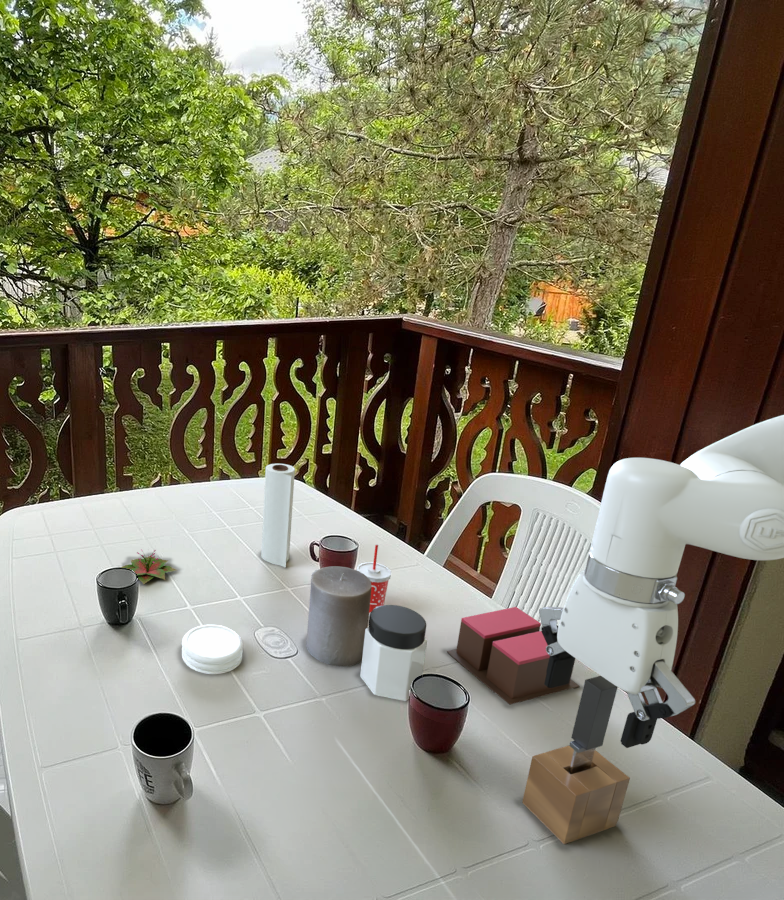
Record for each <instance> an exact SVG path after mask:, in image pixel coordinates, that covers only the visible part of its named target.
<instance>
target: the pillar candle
mask: <svg viewBox="0 0 784 900" xmlns="http://www.w3.org/2000/svg"><path fill="white" fill-rule="evenodd" d="M371 588H372V586H371V581H370V579H369V578H368V577H367V576H366V575H364V574H363V573H361V572H359V571H357V569H354V568H350V567H347V566H338V565H337V566H336V565H334V566H333V565H332V566H325V567H321V568H318V569H316V570H314V571H313V572H312V573H311V575H310V591H309V606H308V614H307V615H308V617H307V629H306V632H307V633H306V650H307V651H308V653H309V654H310V655H311V656H312V658H314V659H316V661H319V662H321V663H323V664H327V665H330V666H335V667H352V666H355V665H357V664H360V662H362V655H363V646H364V637H365V629H366V628H368V627H369V617H370V616H369V609H370V600H371Z"/></svg>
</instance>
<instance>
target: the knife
mask: <svg viewBox="0 0 784 900" xmlns="http://www.w3.org/2000/svg"><path fill="white" fill-rule="evenodd" d="M618 689H619V688H618V687H617V686H615V685H614V684H612V683H611V682H609V681H608V680H606V679H605V678H604V677H602V676H601V675H598V676H593V677H590V678H586V679H584V683H583V687H582V692H581V696H580V701H579V704H578V709H577V713H576V717H575V721H574V725H573V729H572V732H571V737H570V738H571V741H569V746H570V747H571V748H573V749H574V752H573V756H572V760H571V764H570V768H569V773H570V774H575V773H578V772H581V771H584V770H587V769H590V767H591V763H592V759H593V755H594V752H595V750H596V748H599V747H602V746H603V744H604V740H605V737H606V734H607V733H606V732H607V728H608V727H609V721H610V718H611V714H612V710H613V706H614V702H615V699H616V695H617V691H618Z"/></svg>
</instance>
